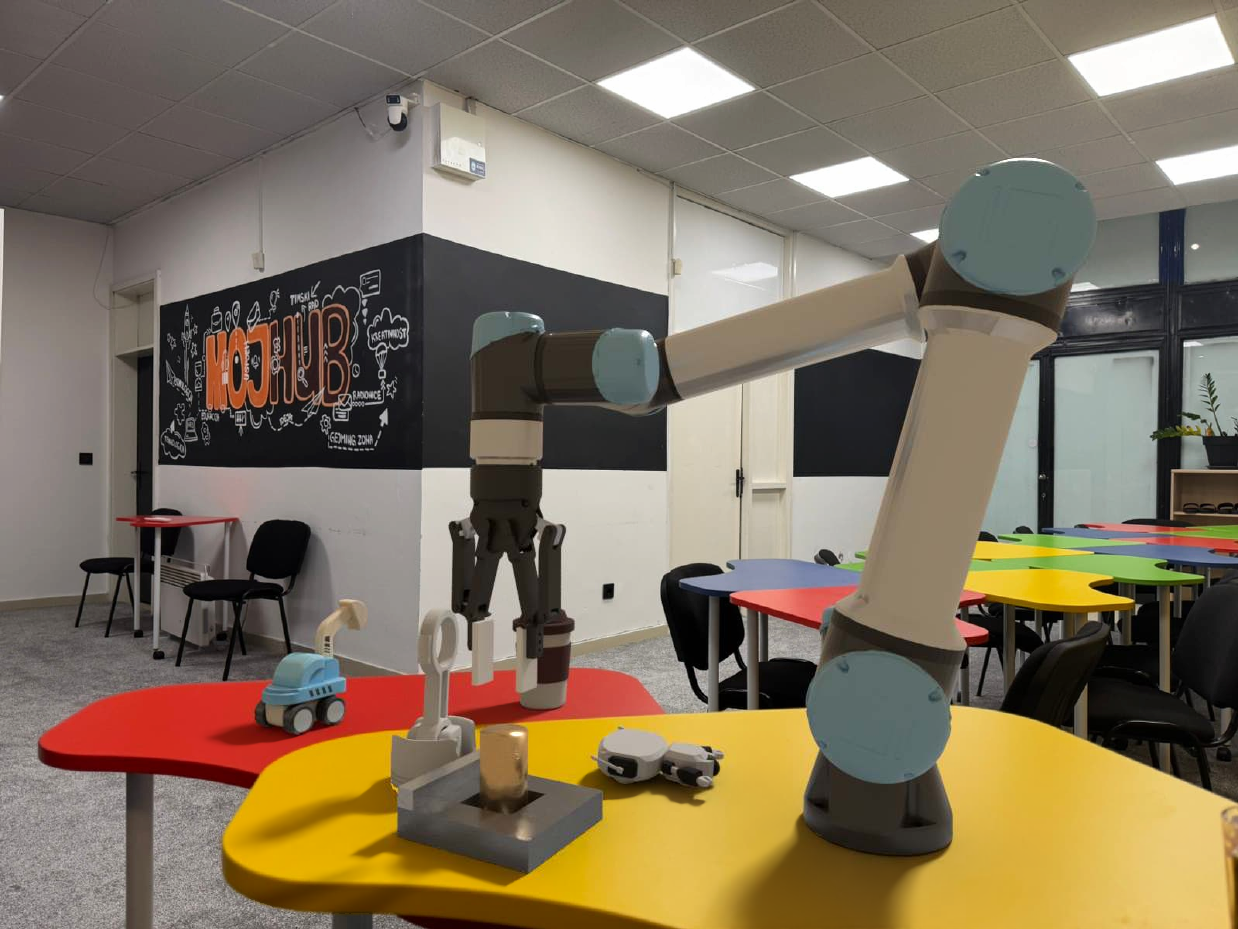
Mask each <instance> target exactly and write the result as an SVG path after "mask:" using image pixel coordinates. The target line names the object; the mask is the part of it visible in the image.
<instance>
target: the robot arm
mask: <svg viewBox="0 0 1238 929" xmlns="http://www.w3.org/2000/svg"><path fill="white" fill-rule="evenodd" d="M1097 230H1098V215H1097V209H1096V205H1095V202H1094V199H1093V197H1092V195H1091V193H1090V191H1089V190H1087V189H1086V187H1085V185H1084V184H1083V182H1082V181H1081V180H1080V179H1079V178H1078V177H1077V176H1076V175H1074V174H1073V172H1071V171H1069V170H1068V169H1066V168H1064V167H1062V166H1061V165H1058V164H1056V163H1053V162H1050V161H1048V160H1043V159H1038V158H1030V157H1029V158H1028V157H1026V158H1025V157H1024V158H1023V157H1021V158H1011V159H1010V158H1009V159H1005V160H1001V161H999V162H995V163H992V164H990V165H987V166H985V167H984V168H981V169H980V170H978V171H976V172H975V173H973V174H972V175H971V176H969V177H968V178H967V179H965V181H963V183H961V184H960V185H959V187H958V188H957V190H955V192H954V193H953V195H951V197H949V201H948V202H947V203H946V205H945V206H944V207H943V210H942V211H941V215H940V219H939V223H938V236H937V238H936V239H935V240H933V241H931V242H929V243H928V244H926V245H923V246H922V247H919V248H916V249H914V250H910V251H906V252H904V253H903V252H902V253H900V254H898V255H897V257H896V259H895V260H894V262H893V264H892V265H891V266H889V267H888V268H885V269H881V270H878V271H875V272H872V273H869V274H865V275H862V276H858V277H856V278H852V279H848V280H845V281H844V282H843V281H842V282H840V283H837V284H833V285H830V286H827V287H824V288H820V289H817V290H813V291H810V292H807V293H804V294H801V295H798V296H797V295H796V296H794V297H790V298H788V299H784V300H781V301H778V302H775V303H771V304H768V305H765V306H762V307H759V308H755V309H752V310H750V311H749V310H748V311H746V312H743V313H739V314H736V315H734V316H733V315H732V316H729V317H727V318H723V319H720V320H716V321H713V322H711V323H707V324H703V325H701V326H697V327H694V328H691V329H688V330H685V331H684V330H683V331H681V332H678V333H674V334H671V335H667V336H666V337H662V338H659V339H656V340H654V337H653V335H652V334H651V333H650V332H648V331H647V330H644V329H637V328H636V329H626V328H622V327H612V329H601V330H582V331H579V330H577V331H565V332H549V331H546V330H545V323H544V320H543V319H542V318H541V317H540V316H539V315H536V314H534V313H528V312H521V311H514V312H512V311H492V312H487V313H484V314H481V315H480V316H479V317H477V318H476V319H475V321H474V322H473V329H472V341H471V342H472V343H471V353H470V356H469V360H470V363H471V415H470V435H469V436H470V442H469V443H470V444H469V458H471V459H472V460H475V463H476V464H472V465H471V467H470V468H469V470H470V471H469V472H470V474H469V475H470V476H469V496H470V498H471V499H472V501H473V502H472V503H473V504H472V509H471V511H470V513H469V516H468V517H465V518H464V519H459V520H452V521H451V520H450V522H449V523H448V525H447V526H448V531H449V534H450V538H451V542H452V548H451V549H452V550H451V552H452V554H451V555H452V556H451V558H452V559H451V561H452V562H451V610H452V612H453V613H454V614H455V615H456V614H459V615H460V616H462V617H464V618H465V620H466V622H467V625H466V626H467V631H466V632H467V633H466V634H467V637H466V638H467V639H466V640H467V641H466V646H467V650H468V651H470V652H471V686H476V687H478V686H481V685H484V684H486V683H489V682H491V681H494V648H495V647H494V641H495V640H494V639H495V637H494V635H495V633H494V632H495V629H494V628H495V624H494V623H495V619H494V618H493V619H491V618H489V617H491V616H492V612H490V611H489V609H490V605H491V601H492V594H493V591H494V587H495V582H496V578H497V573H498V569H499V564H500V561H501V559H502V558H503V556H504V553H506V555H507V560H508V562H510V563H511V566H512V573H513V576H514V582H515V586H516V591H517V592H516V593H517V597H518V603H519V607H520V611H521V614H522V618H523V623H522V624H519V625H520V627H518V628H517V636H516V638H515V640H516V641H515V644H516V645H515V659H516V660H515V663H516V664H515V670H516V671H515V692H516V693H519V694H520V693H523V692H526V691H528V690H531V689H533V688H536V687H537V658H539V657H542V654H543V631H544V626H545V624H546V623H548V622H551V621H554V620H558V619H559V618H560V617H561V609H562V546H563V542H564V540H565V537H566V535H567V527H566V525H565V524H563V523H558V524H557V523H556V524H555V523H553V522H551V521H549V520H546V519H545V518H544V515H543V513H542V509H541V506H540V505H541V501H542V500H541V499H542V497H543V468H541V465H537V463H538V462H537V461H541V459H542V458H543V449H544V448H543V447H544V446H543V443H544V442H543V441H544V438H543V434H544V432H543V430H544V426H543V425H544V408H545V407H544V406H553V407H554V406H555V407H556V406H596V407H600V408H605V409H609V410H614V411H617V412H621V413H623V414H624V415H627V416H631V417H636V418H637V417H645V416H651V415H654V414H656V413H659V412H660V411H662V410H663V409H664V408H666V406H669V405H670V406H671V405H673V404H677V403H679V402H683V401H686V400H689V399H692V398H696V397H700V396H703V395H707V394H710V393H715V392H718V391H722V390H725V389H728V388H732V387H735V386H738V385H743V384H746V383H749V382H753V381H756V380H761V379H763V378H767V377H772V376H774V375H777V374H778V375H779V374H782V373H784V372H790V371H793V370H795V369H796V370H797V369H799V368H803V367H807V366H810V365H814V364H817V363H822V362H825V361H828V360H832V359H835V358H839V357H843V356H846V355H850V354H855V353H857V352H861V351H864V350H868V349H872V348H875V347H879V346H882V345H885V344H886V345H887V344H888V343H889V344H890V343H893V342H896V341H900V340H903V339H906V338H907V339H912V340H915V341H916V342H918V343H920V344H925V343H926V345H925V348H924V351H923V354H922V359H921V361H920V365H919V369H918V373H917V376H916V380H915V384H914V387H913V390H912V395H911V397H910V401H909V404H908V408H907V410H906V415H905V419H904V422H903V426H902V430H901V432H900V436H899V439H898V443H897V446H896V450H895V454H894V458H893V462H892V465H891V468H890V471H889V475H888V479H887V482H886V487H885V489H884V493H883V497H882V500H881V503H880V507H879V511H878V515H877V518H876V521H875V524H874V528H873V532H872V535H871V539H870V543H869V546H868V549H867V554H866V557H865V561H864V562H863V563H864V564H863V568H862V571H861V574H860V577H859V578H860V579H859V581H858V585H857V588H856V590H854V592H852V593H851V594H848V595H847V596H845V597H843V598H841V599H840V600H837V601H836V602H835V603H834V605H830V606H827V607H826V608H825V609H824V610H823V612H822V614H821V624H820V626H819V628H818V629H819V630H818V631H819V635H820V636H821V637H820V639H821V640H820V643H821V644H820V655H819V660H818V663H817V667H816V671H815V673H814V674H815V675H814V677H813V678H812V679H811V682H810V683H809V686H808V687H807V688H808V689H807V691H806V697H805V707H806V711H805V713H806V718H807V721H808V726H809V730H810V732H811V736H812V737H813V740H814V742H815V744H816V745H817V747H818V752H817V755H816V758H815V759H814V760H815V762H814V764H813V767H812V769H811V773H810V774H809V778H808V781H807V784H806V787H805V790H804V793H803V810H802V812H803V813H802V814H803V820H804V822H805V824H806V825H807V827H808V828H809V829H810V830H812V831H813V832H814V833H815V834H816V835H818V836H820V837H821V838H823V839H826V840H827V841H830V842H831V843H835V844H837V845H840V846H842V847H846V848H848V849H853V850H856V851H860V852H865V853H866V852H867V853H870V854H871V853H873V854H879V855H887V856H889V855H890V856H913V855H914V856H915V855H922V854H928V853H932V852H936V851H938V850H941V849H943V848H945V847H946V846H947V845H950V844H949V843H951V841H952V840H953V837H954V825H953V824H954V815H953V811H952V806H951V803H950V800H949V797H948V793H947V791H946V788H945V785H944V780H943V779H942V775H941V772H940V769H939V766H938V763H937V761H938V760H939V759H940V757H941V756H942V754H943V753H944V750H945V748H946V747H947V746H946V745H947V744H948V741H949V739H950V737H951V733H952V725H951V721H952V713H951V706H950V705H951V701H952V698H953V695H954V690H955V687H956V684H957V681H958V677H959V673H960V670H961V667H962V662H963V659H964V656H965V652H966V649H967V646H968V645H967V644H968V643H967V642H966V640H965V638H964V637H963V634H962V633H961V631H960V629H959V628H958V626H957V623H956V615H957V613H958V612H957V611H958V609H959V605H960V602H961V598H962V595H963V593H964V589H965V585H966V581H967V578H968V576H969V575H968V574H969V571H970V568H971V564H972V560H973V557H974V554H975V551H976V547H977V543H978V540H979V536H980V533H981V530H982V526H983V522H984V520H985V518H986V517H985V516H986V513H987V509H988V507H989V502H990V498H991V496H992V493H993V488H994V486H995V482H996V480H997V479H996V478H997V474H998V472H999V468H1000V464H1001V462H1002V458H1003V454H1004V451H1005V447H1006V444H1007V442H1008V441H1007V440H1008V437H1009V434H1010V431H1011V427H1012V423H1013V421H1014V416H1015V413H1016V409H1017V406H1018V403H1019V400H1020V396H1021V392H1022V389H1023V386H1024V382H1025V378H1026V375H1027V372H1028V369H1029V365H1030V361H1031V358H1032V357H1033V356H1034V355H1035V354H1037V353H1038V352H1040V351H1041V350H1043V349H1045V348H1046V347H1048V346H1050V345H1052V344H1053V343H1055V342H1056V341H1057V338H1058V335H1059V330H1060V328H1061V324H1062V322H1063V318H1064V315H1065V312H1066V308H1067V305H1068V302H1069V298H1070V296H1071V295H1070V294H1071V291H1072V289H1073V284H1074V281H1075V278H1076V275H1077V273H1078V272H1079V271H1080V270H1081V269H1082V268H1083V266H1084V265H1085V264H1087V260H1088V259H1089V257H1091V254H1092V252H1093V249H1094V246H1095V242H1096V235H1097ZM476 535H477V536H478V539H477V544H476ZM536 535H537V538H536V539H537V540H538V541H539V544H538V550H537V551H536V546H535V541H534V540H535V537H536ZM537 553H538V556H537ZM537 557H538V561H537V565H538V570H537V565H536V560H535V559H536V558H537ZM485 618H486V619H485Z"/></svg>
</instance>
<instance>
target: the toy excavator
mask: <svg viewBox="0 0 1238 929" xmlns="http://www.w3.org/2000/svg"><path fill="white" fill-rule="evenodd" d="M337 603H338V606H339V608H338V609H336V610H335V611H334V612H332V613H331V614H330V615H329V616H327V617H326V618H325V619H324V620H322V621H321V623H320V624H319V625H318V627H317V630H316V633H315V644H314V653H311V652H310V653H309V652H302V651H300V652H299V651H298V652H297V651H296V652H292V653H289V654H288V655H286V656H284V657H283V658H282V660H280V661H279V663H278V665H277V667H276V668H275V670H274V674H273V679H272V683H269V684H267V685H266V687H265V688H264V689H263V690H262V691H261V700H260V701H258V703H257V704H256V706H255V708H254V717H253V718H254V719H253V720H254V721H255V722H256V724H257V725H259V726H261V727H265V728H271V729H272V728H274V727H275V726H277V727H283V730H284V731H285V732H287V733H289V734H293V735H297V736H300V734H301V733H305V732H308V731H310V729H311V728H312V727H313V725H314V723H315V722H316V721H318V722H319V723H322V724H324V725H328V726H331V725H333V726H337V725H339V723H341V722H342V721H343V719H344V718H345V716H346V712H347V709H346V706H347V705H346V704H347V703H346V701H345V699H344V698H342V697H339V696H336V695H337V694H341V693H345V692H346V691H347V678H345V677H342V676H340V663H339V660H338V659H336V658H335V657H334V653H333V651H334V650H333V640H334V636H335V635H336V634H337V633H338V632H339V631H340V629H342V627H343V626H344V625H345V624H346V627H347V629H348V630H353V631H362V630H363V629H364V628H365V626H366V624H367V622H368V609H367V607H366V605H365V604H364V602H362V601H360V600H357V599H349V598H346V599H345V598H344V599H340V600H339V601H338V602H337Z"/></svg>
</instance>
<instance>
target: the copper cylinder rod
mask: <svg viewBox="0 0 1238 929" xmlns="http://www.w3.org/2000/svg"><path fill="white" fill-rule="evenodd" d="M479 749H480V776H479V808H481V809H485V810H489V811H493V812H497V813H501V814H505V815H512V814H514V813H515V812H517V811H519V810H520V809H522V808H524V807H525V806H527V805H528V775H529V729H528V728H527V727H526V726H524V725H520V724H515V723H499V724H492V725H488V726H486V727H482V728H481V729H480V731H479Z"/></svg>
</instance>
